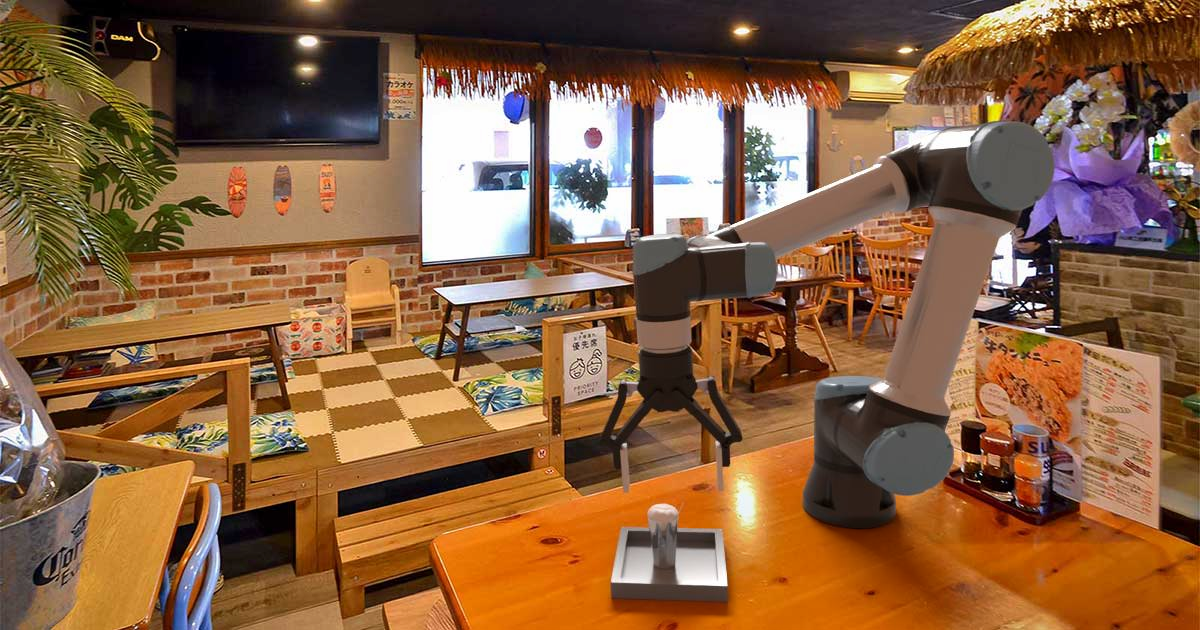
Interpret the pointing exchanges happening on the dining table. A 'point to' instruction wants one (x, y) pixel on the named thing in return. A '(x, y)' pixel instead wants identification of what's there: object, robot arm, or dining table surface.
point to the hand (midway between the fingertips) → (673, 488)
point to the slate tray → (687, 580)
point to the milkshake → (663, 534)
